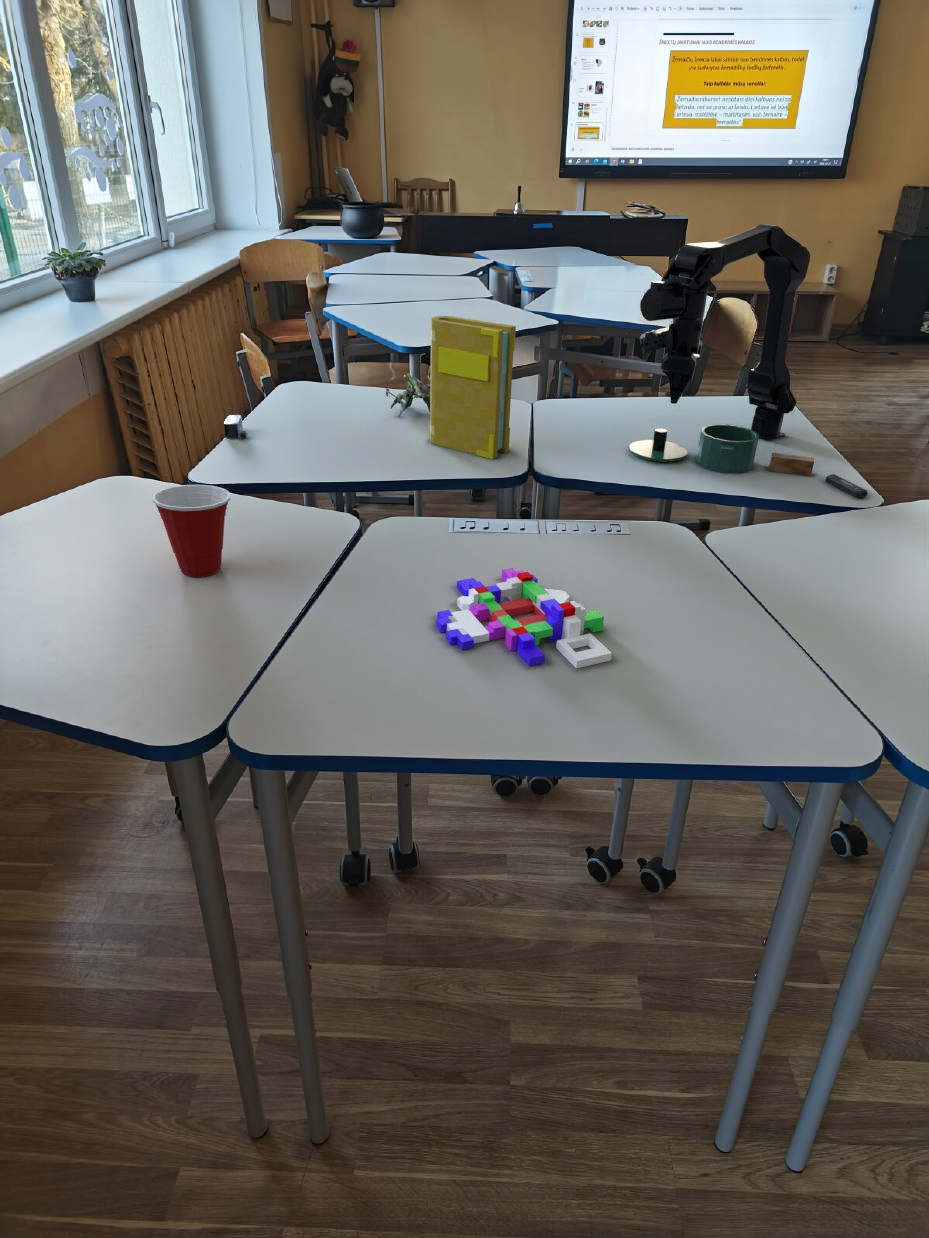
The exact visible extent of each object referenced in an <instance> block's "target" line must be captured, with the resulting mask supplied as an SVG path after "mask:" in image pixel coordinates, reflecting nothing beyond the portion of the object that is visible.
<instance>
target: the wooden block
mask: <svg viewBox="0 0 929 1238" xmlns="http://www.w3.org/2000/svg"><path fill="white" fill-rule="evenodd" d="M814 465H815V458H814V457H813V456H812V457H810V456H802V455H794V454H786V453H779V452H778V453H777V452H771V456H770V460H769V465H768V471H769V472H773V473H774V472H775V473H782V474H791V475H799V476H807V477H811V476H812V474H813V473H812V472H813V469H814Z"/></svg>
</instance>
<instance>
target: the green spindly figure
mask: <svg viewBox="0 0 929 1238" xmlns="http://www.w3.org/2000/svg"><path fill="white" fill-rule="evenodd" d="M426 378H427V379H428V382H429V383H428V385H427V384H424V383H423V382H422V380H420V379H419V378H417V376H416V375H414V374H413V375H412V376H411V373H409V372H407V373H406V374H404V375H403V379H404V381H405V382H406V383H407V387H405V389H404V390H403V391H402V393H400V392H399V393H397V394H396V395H394V394H393V393H392V392H390V389H389V388H385V396H386V397H389V394H390V396H393V397H394V399H393V402H392V403H391V405H390V410H391V409H393V408H394V407H395V406H396V404H399V405H400V412H399V414H398V418H400V416H401V415H402V413H403V412H404V411H405V410H407V409H408V408H410V407H411V406H412V404H413V401H414V399H422V400H423V401H422V402H424V404H426V406H427V409H428V412H429V413H430V390H431V375H426Z"/></svg>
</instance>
